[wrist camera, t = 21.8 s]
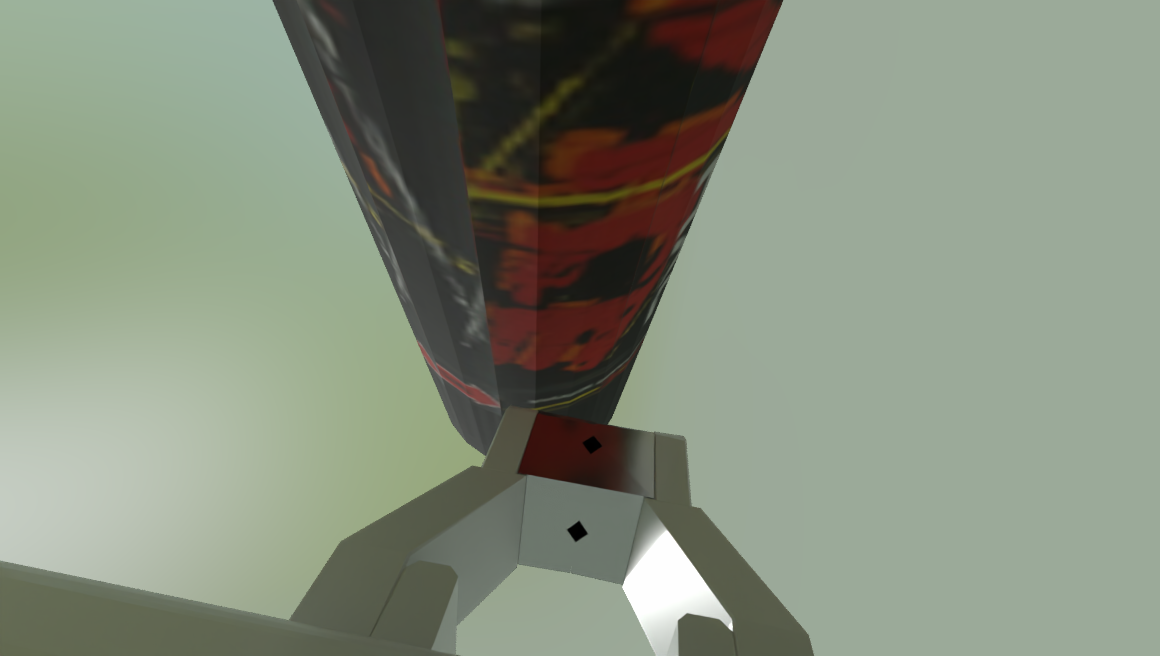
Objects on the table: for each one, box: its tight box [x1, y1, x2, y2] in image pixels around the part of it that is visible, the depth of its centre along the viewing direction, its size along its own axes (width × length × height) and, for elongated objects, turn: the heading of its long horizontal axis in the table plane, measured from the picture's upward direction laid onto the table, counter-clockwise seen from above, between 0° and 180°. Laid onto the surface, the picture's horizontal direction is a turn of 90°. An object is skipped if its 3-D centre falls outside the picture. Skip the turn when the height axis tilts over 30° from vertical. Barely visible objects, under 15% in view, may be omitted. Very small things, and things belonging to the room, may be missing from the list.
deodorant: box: [273, 0, 783, 456], centre depth 12 cm, size 6×6×15 cm
